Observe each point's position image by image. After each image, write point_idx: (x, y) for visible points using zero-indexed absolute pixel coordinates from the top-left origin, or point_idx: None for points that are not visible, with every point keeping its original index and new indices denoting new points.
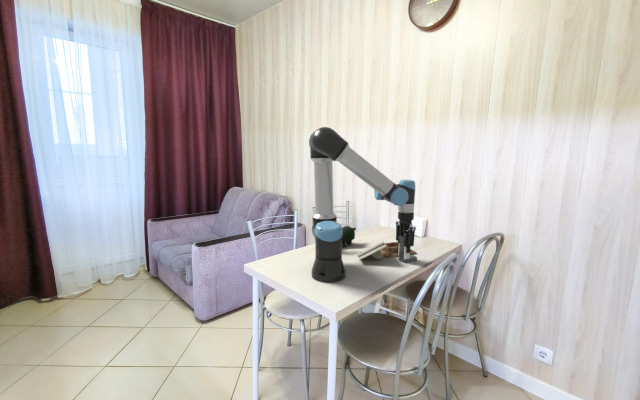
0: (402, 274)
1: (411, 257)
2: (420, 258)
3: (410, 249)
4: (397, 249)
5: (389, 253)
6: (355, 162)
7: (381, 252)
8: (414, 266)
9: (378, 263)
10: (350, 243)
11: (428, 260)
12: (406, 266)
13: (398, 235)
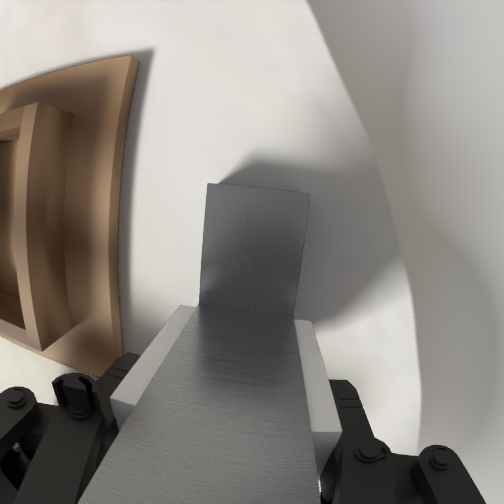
0: (414, 446)
1: (287, 266)
2: (259, 103)
3: (60, 76)
4: (45, 251)
5: (74, 331)
6: None
7: (47, 356)
8: (392, 319)
9: None
10: None
11: (339, 77)
12: (355, 375)
13: (14, 499)
